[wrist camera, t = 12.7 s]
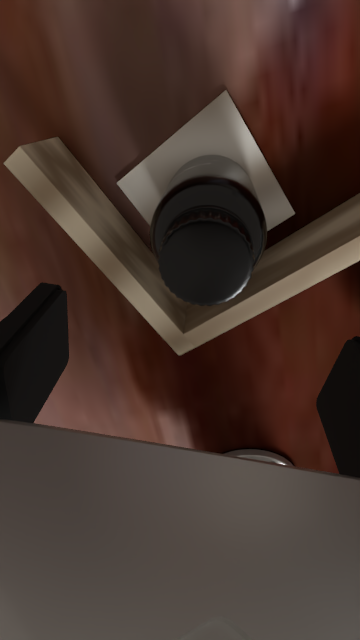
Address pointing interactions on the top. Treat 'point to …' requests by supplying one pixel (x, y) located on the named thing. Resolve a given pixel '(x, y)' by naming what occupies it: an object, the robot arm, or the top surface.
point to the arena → (145, 193)
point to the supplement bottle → (208, 231)
